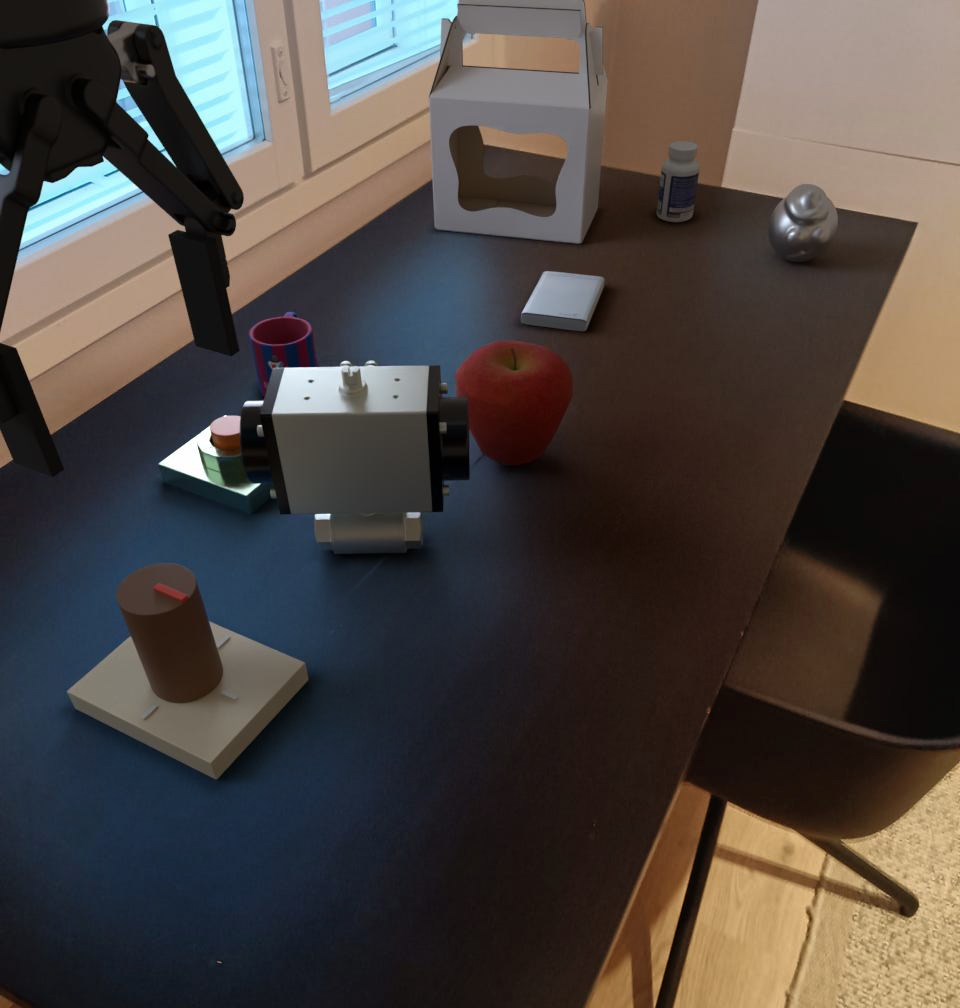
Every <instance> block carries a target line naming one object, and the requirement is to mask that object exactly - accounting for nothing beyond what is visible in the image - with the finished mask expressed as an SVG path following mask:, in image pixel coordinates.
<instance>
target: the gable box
mask: <svg viewBox="0 0 960 1008" xmlns="http://www.w3.org/2000/svg"><path fill="white" fill-rule="evenodd" d="M456 8H457V14H456V15H455V16H454V18H453V19H452V21H451V20H450V18H444V17H443V18H441V23H440V46H439V47H440V49H439V50H440V51H439V62H438V66H437V69H436V72H435V76H434V78H433V82H432V85H431V87H430V88H431V89H430V91H429V95H428V107H429V108H428V110H429V111H428V112H429V130H430V131H429V133H430V136H429V137H430V155H431V176H432V177H431V178H432V181H431V182H432V197H433V198H432V201H433V203H432V204H433V221H434V222H433V224H434V225H433V226H434V229H435V230H436V231H443V232H452V233H463V234H472V235H473V234H474V235H481V236H482V235H484V236H493V237H496V236H497V237H503V238H513V239H522V240H523V239H524V240H533V241H545V242H555V243H564V244H574V245H581V244H582V243H583V242H584V239H585V237H586V235H587V233H588V231H589V228H590V227H591V225H592V222H593V220H594V218H595V216H596V213H597V212H598V209H599V197H600V184H601V173H602V171H601V170H602V160H603V159H602V158H603V146H604V132H605V121H606V107H607V96H608V95H607V94H608V83H609V82H608V81H609V80H608V76H607V72H606V70H605V66H604V26H595V27H594V28H593V25H592V23H591V22H587V11H586V3H585V0H458V3H457V4H456ZM467 34H468V35H473V36H475V34H481V35H499V36H518V37H535V38H538V37H539V38H550V39H551V38H552V39H553V38H554V39H566V40H568V41H572V40H575V41H576V43H577V45H578V47H579V67H578V72H574V71H560V70H559V71H558V70H544V69H543V70H542V69H541V70H540V69H527V68H512V67H511V68H509V67H494V66H480V65H479V66H478V65H464V51H463V50H464V49H463V42H464V41H463V40H464V38H465V36H466V35H467ZM480 127H486V128H489V129H493V130H498V131H501V132H505V133H508V134H514V135H533V134H549V135H554V136H557V137H559V138H560V139H562V140H563V141H564V142H565V144H566V145H567V146H566V147H567V152H566V157H565V160H564V162H563V165H562V167H561V169H560V172H559V174H558V177H557V180H556V182H555V181H552V180H550V179H547V178H545V177H541V176H538V175H533V174H516V175H511V176H505V177H493V176H490V175H488V174H487V173H486V172H485V170H484V158H485V144H484V143H485V142H484V139H483V135H482V132H481V130H480Z"/></svg>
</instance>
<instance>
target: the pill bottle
mask: <svg viewBox="0 0 960 1008" xmlns="http://www.w3.org/2000/svg"><path fill="white" fill-rule="evenodd" d="M697 155H698V144H696V143H695V142H693V141H685V140H677V141H673V142H671V143H670V144H669V146H668V151H667V157H668V158H667V159H665V160H664V161H663V163H662V165H661V168H660V169H661V170H660V177H659V187H658V194H657V203H656V211H655V212H656V213H655V214H656V216H657V218H658V219H660V220H662V221H664V222H669V223H683V222H686V221H689V220H691V219H692V217H693V215H694V212H695V211H694V210H695V204H696V203H695V202H696V196H697V188H698V181H699V176H700V167H701V166H700V163H699V162H698V161H697V160H696V159H697Z"/></svg>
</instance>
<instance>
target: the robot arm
mask: <svg viewBox="0 0 960 1008" xmlns="http://www.w3.org/2000/svg"><path fill="white" fill-rule="evenodd" d="M110 13H111V6H110V2H109V0H0V165H1V166H2V167H3V168H4V169H6V170H7V171H8V173H7V174H1V173H0V333H1V331H2V327H3V322H4V318H5V315H6V314H5V313H6V311H7V310H6V309H7V305H8V301H9V296H10V292H11V288H12V283H13V279H14V274H15V271H16V266H17V262H18V257H19V253H20V248H21V244H22V239H23V235H24V231H25V226H26V223H27V218H28V213H29V210H30V209H31V208H33V207H34V206H35V205H37V204H38V203H39V201H40V199H41V194H42V191H43V186H44V182H46V183H51V184H54V183H56V182H60V181H61V180H64V179H66V178H67V177H68V176H69V175H70V174H72V173H73V172H74V171H75V170H76V169H78V168H90V167H94V166H98V165H100V164H101V163H104V162H105V160H106V161H107V162H109V163H110V164H111V165H112V166H113V167H114V168H115V169H116V170H118V171H119V173H121V174H122V175H123V176H125V178H127V179H128V181H130V182H131V183H132V184H133V185H135V186H136V187H137V189H139V191H141V192H143V193H144V194H145V196H147V197H148V198H149V199H150V200H151V201H152V202H154V203H155V204H156V205H157V206H158V207H159V208H161V209H162V210H163V211H164V212H165V214H167V215H168V216H169V217H170V218H171V219H173V220H174V221H175V222H176V223H177V224H179V225H180V226H182V227H184V230H180V229H176V230H174V231H172V232H171V233H169V234H167V236H168V240H169V245H170V248H171V252H172V256H173V260H174V264H175V268H176V272H177V276H178V280H179V284H180V289H181V293H182V296H183V300H184V304H185V309H186V312H187V317H188V321H189V324H190V328H191V333H192V337H193V340H194V345H195V347H197V348H201V349H205V350H208V351H211V352H215V353H219V354H222V355H225V356H228V357H232V356H235V355H236V354H237V353H239V352H240V351H241V350H240V346H239V342H238V336H237V332H236V327H235V321H234V317H233V313H232V307H231V303H230V298H229V294H228V290H227V288H229V287H230V284H231V283H230V282H231V275H230V269H229V266H228V265H229V264H228V260H227V255H226V251H225V246H224V240H223V236H225V237H231V236H233V234H234V233H235V231H236V229H237V220H236V217H235V215H234V214H233V213H230V212H231V210H233V211H238V210H240V209H241V208H242V207H243V204H244V200H245V197H244V195H245V194H244V192H243V189H242V187H241V186H240V184H239V182H238V181H237V179H236V177H235V175H234V173H233V171H232V170H231V168H230V166H229V164H227V161H226V160H225V158H224V156H223V154H222V152H221V151H220V149H219V148H218V146H217V144H216V142H215V141H214V139H213V137H212V135H211V134H210V132H209V130H208V129H207V127H206V125H205V124H204V121H203V120H202V118H201V117H200V115H199V113H198V112H197V110H196V108H195V106H194V104H193V103H192V101H191V99H190V98H189V96H188V94H187V93H186V91H185V89H184V87H183V85H182V84H181V82H180V80H179V79H178V77H177V75H176V72H175V68H174V65H173V61H172V57H171V54H170V51H169V48H168V45H167V41H166V37H165V34H164V32H163V30H162V29H161V28H160V26H157V25H156V24H148V23H141V22H134V21H133V22H132V21H126V20H120V19H119V20H118V19H115V20H111V21H110V22H109V24H108V26H107V29H106V30H107V31H106V30H105V29H104V27H103V26H104V25H105V24H106V22H107V21H108V20H109V17H110ZM121 81H122V82H123V84H124V87H125V88H126V90H127V92H128V94H129V95H130V97H131V99H132V100H133V102H134V103H135V105H136V107H137V108H138V110H139V112H141V115H142V116H143V117H144V119H145V120H146V122H147V124H148V125H149V127H150V129H151V130H152V131H153V133H154V135H155V136H156V137H157V139H158V141H159V143H160V144H161V146H162V147H163V148H164V150H165V152H166V154H168V156H169V158H170V160H169V158H168V157H166V156H165V155H164V154H163V152H162V151H160V150H159V148H158V147H156V146H155V145H154V144H153V143H152V142H151V141H150V140H149V136H150V135H149V133H148V132H147V130H145V128H144V127H142V125H140V123H138V122H137V120H136V119H134V118H133V117H132V116H131V115H130V114H129V113H128V112H127V111H126V110H125V109H124V108H123V107H122V106H121V104H119V103H118V102H117V101H118V96H119V90H120V85H121ZM104 159H105V160H104ZM0 433H1V435H2V438H3V440H4V442H5V445H6V447H7V449H8V451H9V454H10V456H11V458H12V461H13V463H14V464H17V465H20V466H22V467H25V468H28V469H30V470H33V471H35V472H38V473H41V474H43V475H46V476H48V477H51V478H54V477H55V476H57V475H59V474H60V473H61V472H63V471H64V470H65V467H64V465H63V462H62V460H61V457H60V454H59V452H58V450H57V447H56V444H55V442H54V440H53V437H52V434H51V432H50V430H49V427H48V424H47V422H46V420H45V417H44V414H43V412H42V409H41V407H40V403H39V401H38V399H37V397H36V394H35V392H34V389H33V387H32V384H31V382H30V379H29V376H28V374H27V372H26V369H25V366H24V364H23V361H22V359H21V356H20V354H19V351H18V349H17V347H15V346H11V345H8V344H6V343H3V342H0Z"/></svg>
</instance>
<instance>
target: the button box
mask: <svg viewBox="0 0 960 1008" xmlns="http://www.w3.org/2000/svg"><path fill="white" fill-rule="evenodd" d="M224 416H227V415H226V414H225V415H223V416H222V417H224ZM157 465H158V468H159V472H160V474H161V475H160V476H161V478H162V481H163V483H165V484H168V485H170V486H173V487H176V488H178V489H181V490H184V491H187V492H190V493H193V494H195V495H198V496H200V497H203V498H206V499H208V500H211V501H214V502H217V503H219V504H221V505H225V506H227V507H230V508H232V509H236V510H237V511H241V512H244V513H247V514H249V515H252V514H253V513H254V512H255V511H257V510H258V509H259V508H260V507H261V506H262V505H264V504H265V503H266V502H267V501H268V500H269V499H272V498H271V495H270V490H271V488H275V487H274V483H272V484H253V483H251V482H250V481H249V480H248V478H247V476H246V473H245V470H244V466H243V462H242V456H241V448H237V449H234V450H221V449H218V448H216V447H215V446H214V444H213V440H212V436H211V432H210V425H209V426H208V427H206V428H204V430H202V431H201V432H200V433H198V434H197V435H195V437H192V438H191V439H190V440H189V441H187V442H186V443H185V444H183V445H182V446H181V447H179V448H177V449H176V450H174V451H173V452H172V453H171V454H169V455H168V456H167V457H165V458H164V459H163V460H162V461H160V462H159V463H158V464H157Z"/></svg>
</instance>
